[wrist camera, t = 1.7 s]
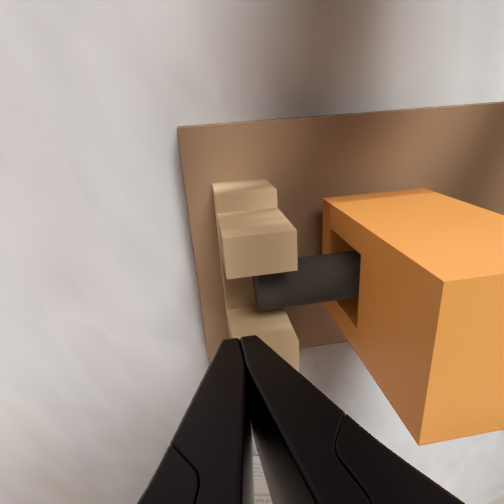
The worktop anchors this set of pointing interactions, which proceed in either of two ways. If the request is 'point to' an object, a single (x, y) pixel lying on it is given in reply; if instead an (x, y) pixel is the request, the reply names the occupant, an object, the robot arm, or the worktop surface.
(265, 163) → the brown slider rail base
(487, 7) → the worktop surface
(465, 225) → the sleeve
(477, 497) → the worktop surface
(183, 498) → the robot arm
